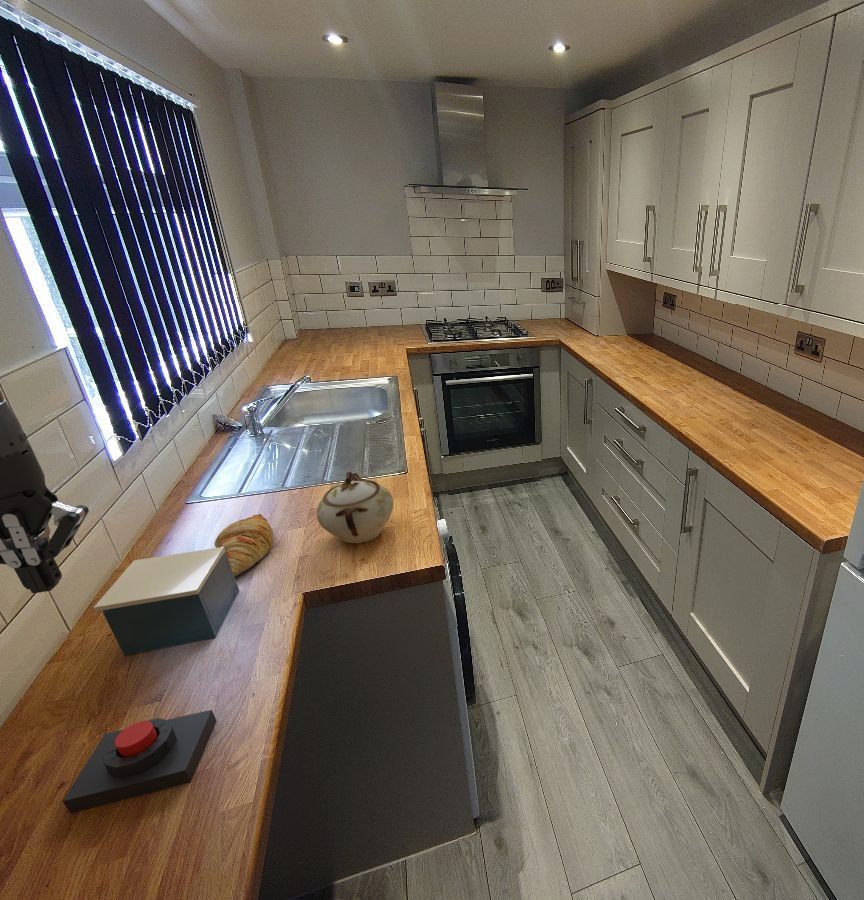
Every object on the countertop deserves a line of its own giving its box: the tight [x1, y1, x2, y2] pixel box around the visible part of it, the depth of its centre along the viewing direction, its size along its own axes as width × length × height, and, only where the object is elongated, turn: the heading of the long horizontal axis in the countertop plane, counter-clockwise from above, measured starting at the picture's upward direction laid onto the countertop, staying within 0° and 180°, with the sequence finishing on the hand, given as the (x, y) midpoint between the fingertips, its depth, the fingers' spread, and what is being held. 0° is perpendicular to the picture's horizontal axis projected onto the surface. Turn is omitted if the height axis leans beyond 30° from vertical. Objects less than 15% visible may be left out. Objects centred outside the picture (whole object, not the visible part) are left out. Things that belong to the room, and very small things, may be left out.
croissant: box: [213, 513, 274, 577], centre depth 107 cm, size 21×10×8 cm, turn 20°
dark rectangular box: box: [101, 551, 240, 656], centre depth 88 cm, size 13×13×9 cm
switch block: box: [62, 709, 217, 814], centre depth 65 cm, size 12×9×4 cm
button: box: [115, 720, 157, 757], centre depth 64 cm, size 4×4×2 cm
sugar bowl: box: [316, 471, 394, 544], centre depth 111 cm, size 20×15×15 cm
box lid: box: [92, 547, 225, 613], centre depth 86 cm, size 13×13×1 cm
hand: (47, 587), depth 60 cm, fingers closed
